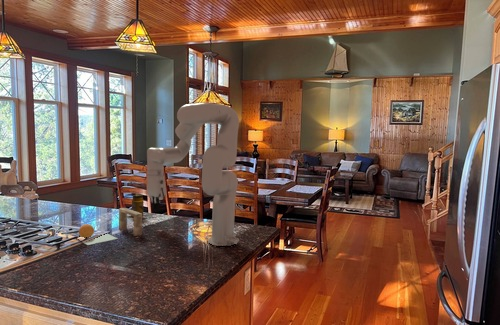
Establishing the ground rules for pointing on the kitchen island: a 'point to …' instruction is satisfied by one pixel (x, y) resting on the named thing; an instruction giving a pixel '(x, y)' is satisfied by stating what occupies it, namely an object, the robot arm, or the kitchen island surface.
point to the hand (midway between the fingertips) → (155, 210)
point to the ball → (86, 231)
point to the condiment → (137, 205)
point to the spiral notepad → (100, 239)
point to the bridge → (137, 220)
